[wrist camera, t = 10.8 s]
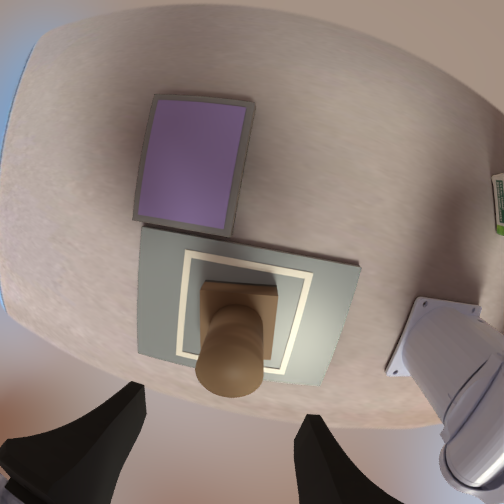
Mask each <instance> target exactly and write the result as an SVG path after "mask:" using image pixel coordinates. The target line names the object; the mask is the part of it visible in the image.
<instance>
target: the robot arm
mask: <svg viewBox="0 0 504 504" xmlns="http://www.w3.org/2000/svg"><path fill="white" fill-rule="evenodd" d="M425 301H426V302H425ZM424 302H425V304H424V305H423V303H424ZM481 310H482V307H481V306H479V305H475V304H468V303H461V302H454V301H447V300H440V299H434V298H427V297H418V298H417V299H416V300H415V302H414V305H413V308H412V311H411V313H410V316H409V318H408V321H407V324H406V326H405V328H404V331H403V333H402V336H401V338H400V340H399V343H398V345H397V347H396V349H395V352H394V354H393V356H392V358H391V360H390V362H389V364H388V366H387V368H386V371H385V373H386V375H387V376H412V378H413V379H414V381H415V382H416V384H417V385H418V386H419V388H420V389H421V391H422V392H423V394H424V395H425V397H426V398H427V400H428V401H429V403H430V404H431V406H432V407H433V409H434V411H435V412H436V414H437V415H438V417H439V418H440V420H441V421H442V423H443V424H444V429H443V431H442V432H441V434H440V436H441V437H442V439H443V440H444V442H445V445H444V446H443V448H442V449H441V452H440V456H439V465H440V470H441V472H442V475H443V476H444V478H445V480H446V481H447V482H448V484H450V485H451V486H452V487H453V488H454V489H456V490H457V491H460V492H462V493H466V494H471V495H473V496H476V497H478V498H479V499H480V500H482V501H483V502H484V503H485V504H499V503H504V335H503V334H502V333H500V332H499V331H498V330H496V329H495V328H494V327H492V326H491V325H490V324H488V323H487V322H486V321H484V320H483V319H482V318H480V317H479V316H480V313H481ZM395 370H396V371H395ZM394 371H395V372H394ZM146 414H147V413H146V402H145V389H144V385H142V384H139V383H136V382H133V381H131V382H129V383H128V384H127V385H126V386H125V387H123V388H122V389H121V390H120V391H119V392H117V393H116V394H115V395H113V396H112V397H111V398H109V399H108V400H107V401H105V402H104V403H103V404H101V405H100V406H98V407H97V408H95V409H94V410H92V411H91V412H89V413H87V414H86V415H84V416H82V417H81V418H79V419H77V420H75V421H73V422H71V423H69V424H67V425H64V426H62V427H59V428H57V429H54V430H51V431H48V432H45V433H41V434H37V435H33V436H28V437H22V438H13V439H7V440H6V441H5V442H4V443H3V445H2V446H1V447H0V466H1V467H2V468H3V469H4V470H5V471H6V473H7V474H8V475H9V476H10V477H11V478H10V479H9V481H8V480H7V479H6V478H5V477H4V476H3V475H2V474H1V473H0V504H110V503H111V499H112V496H113V493H114V489H115V486H116V483H117V480H118V477H119V474H120V471H121V469H122V467H123V465H124V463H125V461H126V459H127V457H128V455H129V453H130V451H131V449H132V447H133V445H134V443H135V441H136V439H137V437H138V435H139V433H140V431H141V428H142V426H143V423H144V420H145V417H146ZM294 463H295V471H296V478H297V485H298V493H299V504H404V503H402V502H400V501H398V500H397V499H395V498H393V497H392V496H390V495H388V494H387V493H386V492H384V491H383V490H382V489H380V488H379V487H378V486H377V485H375V484H374V483H373V482H372V481H370V480H369V479H368V478H367V477H366V476H365V475H364V474H363V473H362V472H361V471H360V470H359V469H358V468H357V467H356V466H355V464H354V463H353V462H352V461H351V460H350V458H348V456H347V455H346V453H345V452H344V451H343V449H342V448H341V447H340V445H339V444H338V442H337V441H336V439H335V438H334V436H333V435H332V433H331V432H330V430H329V429H328V427H327V425H326V424H325V422H324V421H323V419H322V417H321V416H320V415H312V414H307V415H306V417H305V419H304V421H303V423H302V425H301V427H300V429H299V431H298V433H297V435H296V437H295V439H294Z"/></svg>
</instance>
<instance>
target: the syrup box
mask: <svg viewBox="0 0 504 504" xmlns="http://www.w3.org/2000/svg"><path fill="white" fill-rule="evenodd" d="M491 179H492V183H493V187H494V197H495V208H496V221H497V234H499V235H503V236H504V173H501V174H497V175H493V176H491Z"/></svg>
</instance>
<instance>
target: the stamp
mask: <svg viewBox="0 0 504 504" xmlns="http://www.w3.org/2000/svg"><path fill="white" fill-rule="evenodd" d="M277 304H278V290H277V285H267V284H253V283H239V282H227V281H215V280H205V282H204V283H203V285H202V287H201V289H200V349H201V351H200V354H199V357H198V360H197V362H196V366H195V371H196V376H197V378H198V380H199V382H200V383H201V384H202V385H203V386H204V387H205V388H206V389H207V390H209V391H210V392H212V393H214V394H216V395H219V396H223V397H230V398H235V397H242V396H246V395H249V394H251V393H252V392H254V391H255V390H256V389H258V387H259V386H260V385H261V383H262V381H263V377H264V360H271V355H272V347H273V339H274V330H275V322H276V313H277Z"/></svg>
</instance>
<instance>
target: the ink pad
mask: <svg viewBox="0 0 504 504" xmlns="http://www.w3.org/2000/svg"><path fill="white" fill-rule="evenodd" d="M255 109H256V104H255V102H248V101H241V100H233V99H225V98H216V97H205V96H191V95H171V94H154V98H153V102H152V106H151V110H150V115H149V119H148V123H147V128H146V133H145V138H144V143H143V148H142V154H141V159H140V165H139V171H138V178H137V185H136V192H135V200H134V209H133V218H132V220H134V221H139V222H145V223H151V224H157V225H162V226H168V227H174V228H179V229H185V230H190V231H196V232H202V233H207V234H213V235H218V236H224V237H229V238H230V237H231V236H232V233H233V227H234V221H235V215H236V210H237V204H238V198H239V193H240V187H241V182H242V176H243V171H244V166H245V160H246V155H247V150H248V145H249V139H250V134H251V129H252V124H253V119H254V114H255Z"/></svg>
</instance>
